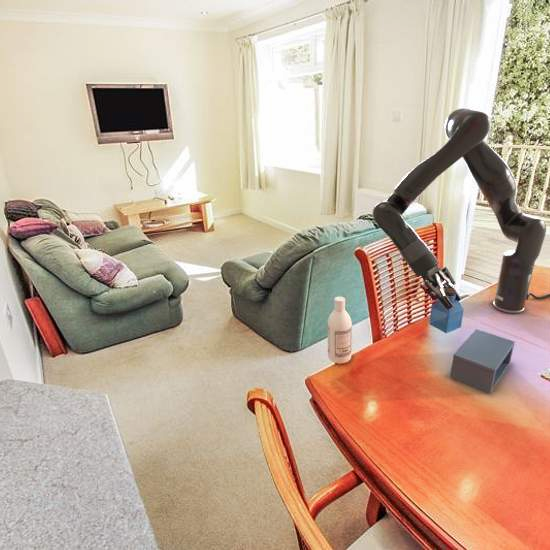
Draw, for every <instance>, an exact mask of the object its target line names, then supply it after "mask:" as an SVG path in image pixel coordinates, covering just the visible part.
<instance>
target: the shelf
mask: <svg viewBox="0 0 550 550" xmlns="http://www.w3.org/2000/svg"><path fill="white" fill-rule="evenodd" d="M515 343H516V342H515V341H514V340H511V339H508V338H506V337H505V338H504V337H503V336H500V335H496V334H493V333H489V332H486V331H483V330H480V329H477V328H476V329H475V330H474V331H473V332H472V333H471V334H470V335H469V336H468V337H467V339H465V341H464V342H463V343H462V344H461V345H460V346H459V348H458V349H457V350H456V351H455V352H454V353H453V355H452V362H451V369H450V375H449V378H450V379H453V380H455V381H457V382H461V383H463V384H464V385H467V386H470V387H472V388H474V389H477V390H479V391H481V392H483V393H487V394H489V395H490V394H491V393H492V392H493V390H494V389H495V388H496V386H497V384H498V382H500V380H501V378H502V376H503V375H504V374H505V372H506V371H507V369H508V367H509V366H510V364H511V360H512V355H513V351H514V348H515Z"/></svg>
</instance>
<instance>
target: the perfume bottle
mask: <svg viewBox="0 0 550 550" xmlns="http://www.w3.org/2000/svg"><path fill="white" fill-rule="evenodd" d="M454 289H455V288H454ZM454 289H452V288H445V289H443V291H444V293H445V296H447V297H448V298H449V300H450V301H451V302H452V304H453V305H454V306H453V307H452V308H450V309H446V308H445V307H444V305H443V304H442V303H441V301H440V300H439V299H436V301H435V302H434V303H433V304H432V305H431V306H430V314H429V315H430V316H429V323H428V324H429V325H430V326H432V327H433V328H435V329H437V330H439V331H440V332H443V333H444V334H449V333H452V332H453V331H456V330H458V329H461V327H462V321H463V317H464V316H463V315H464V309H465V308H464V307H463V306H462V304H461V303H460V301H457V300H455V297H456V294H455V292H457V290H456V289H455V290H454Z"/></svg>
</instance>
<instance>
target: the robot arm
mask: <svg viewBox="0 0 550 550" xmlns="http://www.w3.org/2000/svg"><path fill="white" fill-rule="evenodd" d="M491 129H492V120H491V117H490V115H488V114H487V113H486V112H484V111H481V110H477V109H471V108H467V107H466V108H459V109H458V108H457V109H455V110H453V111H452V112H451V113H449V115H448V116H447V118H446V120H445V123H444V132H445V133H444V134H445V136H446V138H447V139H448V140H447V142H446V143H444V145H443V146H442V147H441V148H440V149H438V150H437V151H436V152H434V154H432V155H430V156H429V157H427V158H426V159H424V160H423V161H421V162H420V163H419V164H417V165H416V166H414V167H413V168H412V169H411V170H410V171H409V172H407V174H406V175H405V176H404V177H403V178H402V179H401V180H400V181H399V183H397V185H396V186H395V187H394V189H393V192H392V193H391V194H390V196H388V198H387V199H386V200H385V201H380V202H377V204H375V206H373V209H372V219H373V220H374V222H375V223H376V224H377V225H378V227H380V229H381V230H382V231H383V232H384V234H385V235H387V236H388V238H389V239H390V241H391V242H392V244H393V245H394V246H395V248H396V249H397V251H398V252H399V253H400V255H401V257H402V259H403V260H404V261H405V263H406V264H407V266H408V267H409V268H410V270H412V272H413V273H414V274H415V276H416V277H421V279H422V281H423V282H422V283H420V284H419V287H420V288H421V289H422V290H423V292H425V294H426V295H428V297H430V299H432V300H433V301H435V300H440V301H441V303H442V304H443V305H444V307H445V308H446V309H450V308H452V307H453V306H454V305H453V304H452V302H451V301H450V300H449V298H448V297H447V296H445V293H444V289H445V288H452V289H454V290H456V289H455V285H456V283H457V282H456V280H454V279H455V278H453V275H451V272H450V271H449V269H448V267H447V266H444V267H442V268H440V267H439V266H438V264H439V263H440V261H439V260H438V258H437V257H436V256H435V254H434V252H433V251H432V250H431V249H430V247H428V245H427V244H426V243H425V242H424V241H423V240H422V238H421V237H420V236H419V235H418V233H416V231H415V230H414V228H413V227H412V226H411V225H409V224H408V223H407V222H406V221H405V219H404V218H403V215H404V213H405V212H406V211H407V210H408V208H409V207H410V206H411V205H412V203H414V202H415V201H416V200H417V199H418V198H419V197H420V196H421V195H422V194H423V193H424V192H425V191H426V190H427V189H428V188H429V186H431V184H433V182H434V181H436V180H437V179H438V178H439V177H440V176H441V175H442V174H443V173H445V172H446V171H447V170H448V169H449V168H451V167H452V166H453V165H454V164H456V163H457V162H458V161H459V160H461V159H463V160H464V163H465V164H466V166H467V169H468V170H469V172H470V175H471V176H472V178H473V180H474V181H475V183H476V185H477V187H478V189H479V190H480V192H481V194H482V196H483V197H484V199H485V200H486V202H487V203H488V205H489V207H490V209H491V211H492V212H493V213H494V215H495V218H496V220H497V223H498V226H499V228H500V230H501V232H502V234H503V236H504V237H505V238H506V239H507V240H509V241H511V242H514V243H517V244H516V247H515V249H513V250H507V251H505V252H503V255H502V259H501V263H500V264H501V265H500V269H499V270H500V271H499V275H498V280H497V286H496V292H495V295H494V300H493V304H492V306H493V307H494V308H495V309H497V311H501V312H503V313H506V314H507V313H508V314H520V313H523V312H524V311H525V306H526V301H528V300H529V299H530V296H531V297H532V298H533V299H536V300H543V299H546V298H549V297H550V293H548V294H546V295H543V296H537V295H535V294H534V293H532V292H530V291H529V290H530V285H531V280H532V276H533V272H534V267H535V263H536V261H537V259H538V258H539V256H540V253H541V250H542V247H543V245H544V241H545V238H546V233H547V225H546V222H545V221H544V220H543V219H541V218H539V217H536V216H532V215H528V214H525V213H524V212H523V211H522V210H521V209H520V207H519V206H518V204H517V201H516V194H517V190H518V183H517V181H516V178H515V176H514V174H513V172H512V170H511V168H510V167H509V166H508V164H507V162H506V161H505V160H503V157H501V156H500V155H499V154H498V153H497V152H496V151H495V150H494V149H493V148H492V147H491V146H490V145H489V143H488V142H487V141H486V138H487V136H488V135H489V133H490V132H491ZM455 294H456V297H455V300H457V301H459V302H460V301H461V300H462V297H461V296H460V294H459V293H458V292H457V291H456V292H455Z"/></svg>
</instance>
